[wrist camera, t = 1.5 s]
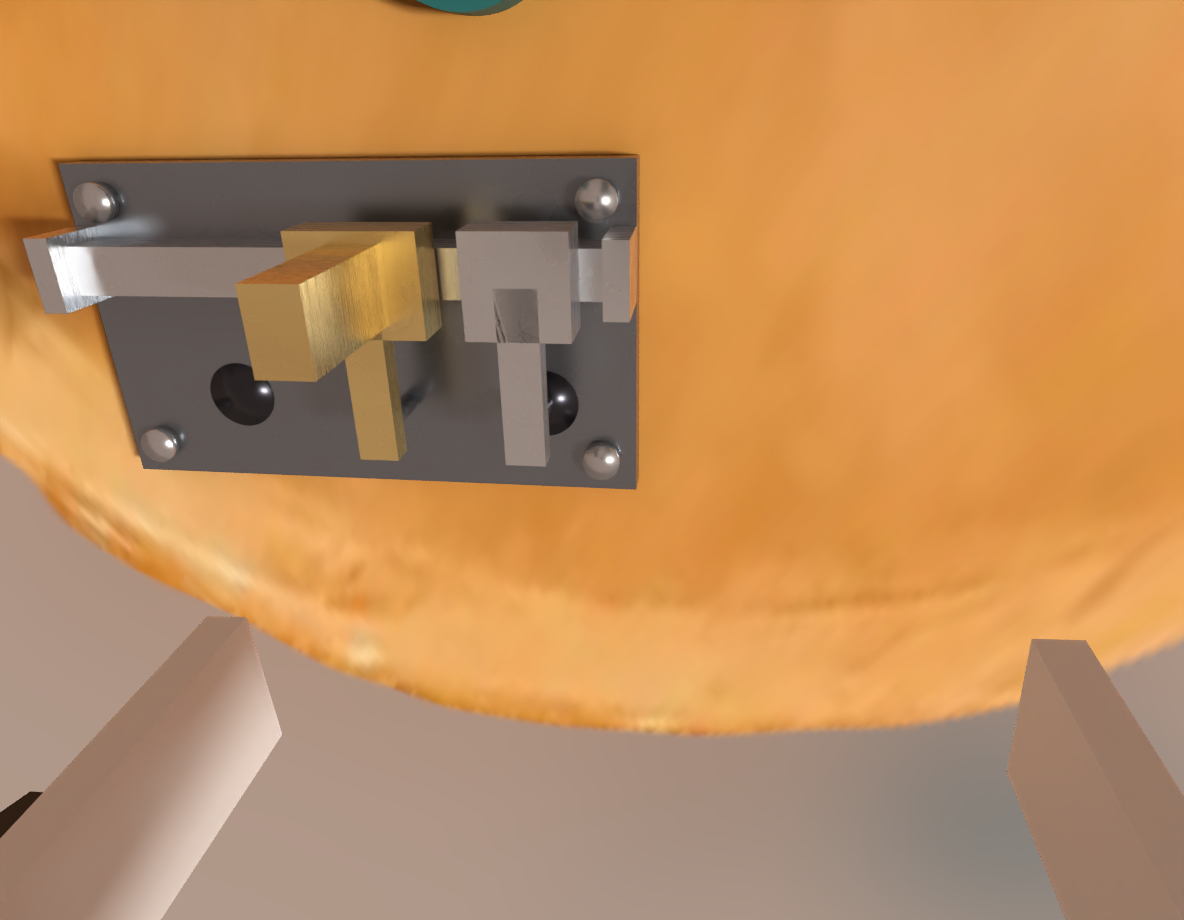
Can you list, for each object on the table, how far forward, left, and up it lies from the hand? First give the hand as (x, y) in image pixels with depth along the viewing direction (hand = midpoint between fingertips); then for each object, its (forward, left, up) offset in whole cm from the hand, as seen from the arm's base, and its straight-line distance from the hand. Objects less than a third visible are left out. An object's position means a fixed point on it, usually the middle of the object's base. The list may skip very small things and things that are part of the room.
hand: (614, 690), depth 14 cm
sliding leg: (0, -11, -21) cm, 24 cm away
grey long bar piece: (0, -13, -22) cm, 26 cm away
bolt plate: (0, -14, -23) cm, 27 cm away
